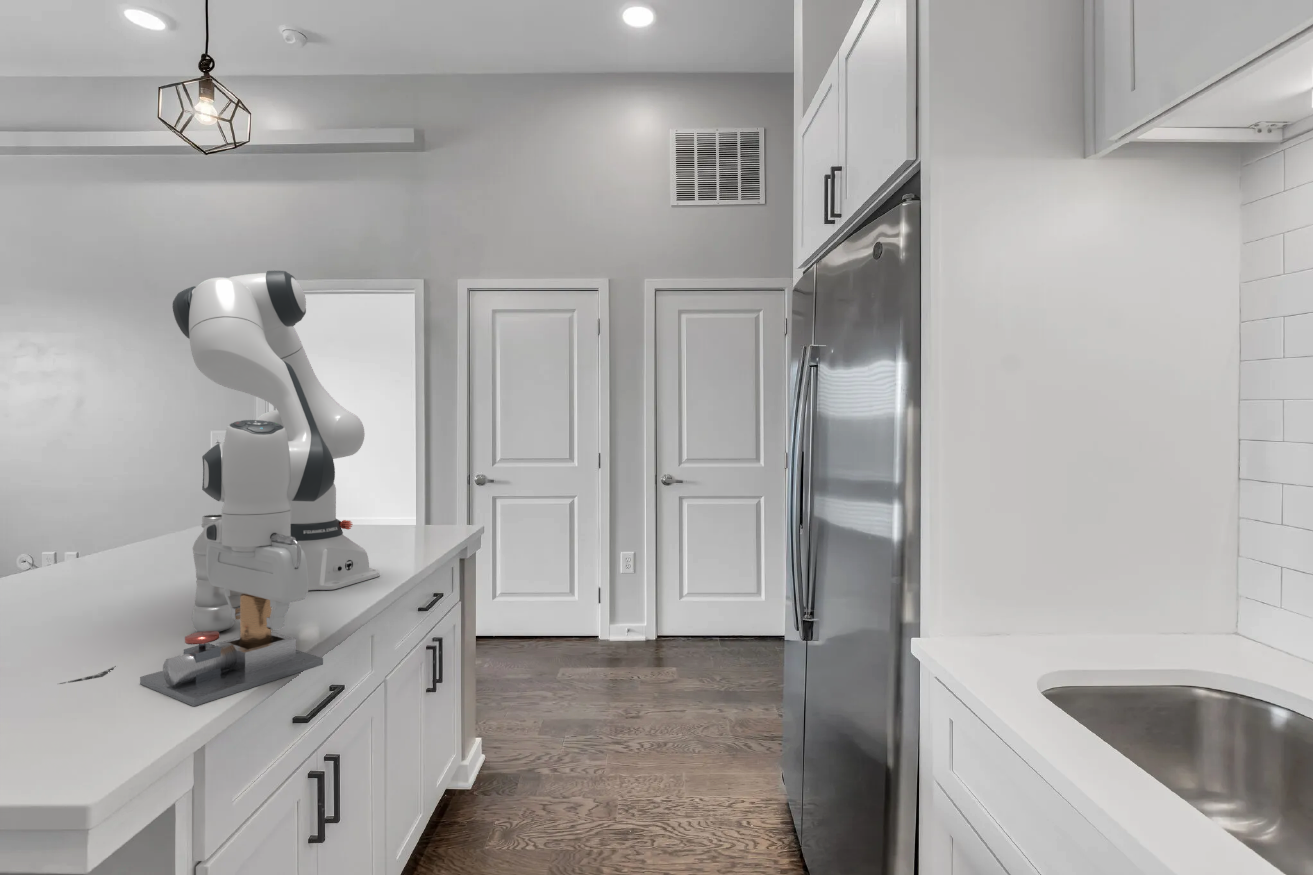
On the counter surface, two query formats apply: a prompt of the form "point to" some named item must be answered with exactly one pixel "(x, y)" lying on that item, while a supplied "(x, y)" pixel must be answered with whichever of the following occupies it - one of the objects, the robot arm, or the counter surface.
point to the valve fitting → (226, 667)
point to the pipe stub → (254, 621)
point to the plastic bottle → (208, 590)
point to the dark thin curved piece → (91, 676)
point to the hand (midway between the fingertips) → (256, 623)
